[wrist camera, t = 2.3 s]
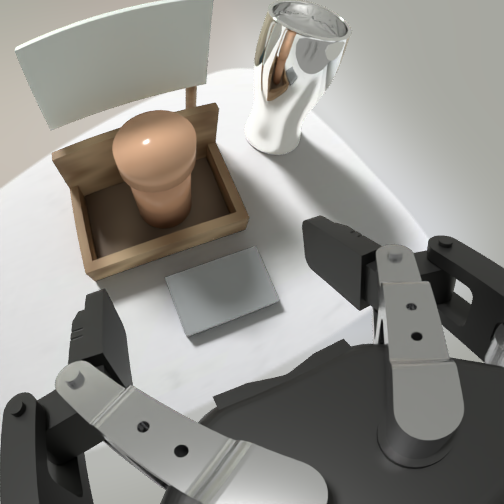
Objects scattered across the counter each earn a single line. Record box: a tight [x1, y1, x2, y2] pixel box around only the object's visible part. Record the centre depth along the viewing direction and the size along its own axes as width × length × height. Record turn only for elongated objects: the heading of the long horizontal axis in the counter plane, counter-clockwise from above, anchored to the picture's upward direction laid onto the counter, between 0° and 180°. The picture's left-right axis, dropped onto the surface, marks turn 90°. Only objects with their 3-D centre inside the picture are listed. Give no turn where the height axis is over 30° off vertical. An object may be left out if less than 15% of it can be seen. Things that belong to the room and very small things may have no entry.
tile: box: [165, 246, 279, 337], centre depth 26 cm, size 8×5×1 cm, turn 113°
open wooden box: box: [52, 86, 249, 281], centre depth 23 cm, size 14×13×12 cm
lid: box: [15, 0, 214, 130], centre depth 19 cm, size 14×1×9 cm, turn 113°
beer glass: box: [244, 0, 352, 155], centre depth 26 cm, size 7×7×15 cm
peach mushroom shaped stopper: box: [112, 110, 196, 229], centre depth 23 cm, size 6×6×9 cm
